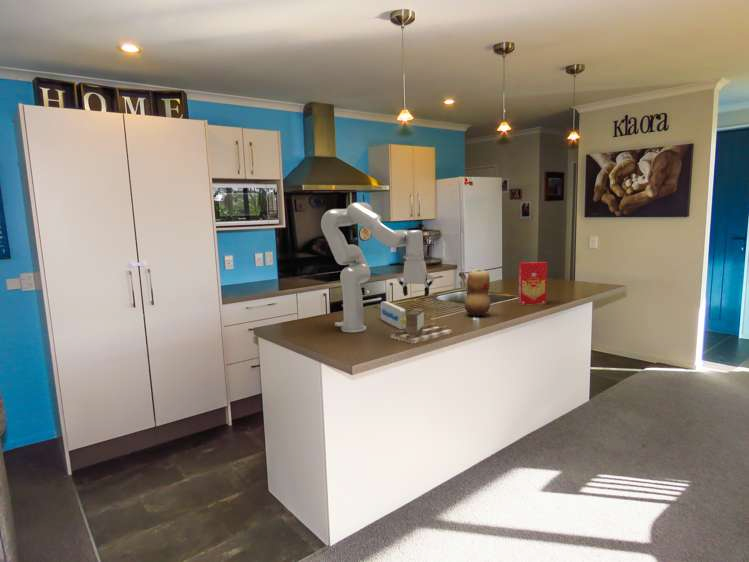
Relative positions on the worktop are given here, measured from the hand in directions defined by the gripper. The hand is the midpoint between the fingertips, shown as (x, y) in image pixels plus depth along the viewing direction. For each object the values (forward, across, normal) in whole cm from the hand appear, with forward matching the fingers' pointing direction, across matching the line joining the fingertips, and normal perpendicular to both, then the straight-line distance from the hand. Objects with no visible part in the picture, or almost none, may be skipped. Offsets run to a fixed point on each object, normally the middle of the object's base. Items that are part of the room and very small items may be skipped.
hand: (416, 295), depth 215 cm
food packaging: (+20, +45, +90) cm, 103 cm away
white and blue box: (+19, -18, +20) cm, 33 cm away
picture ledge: (+19, +1, +4) cm, 20 cm away
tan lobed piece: (+20, +19, +52) cm, 59 cm away
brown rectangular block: (+16, -1, 0) cm, 16 cm away
